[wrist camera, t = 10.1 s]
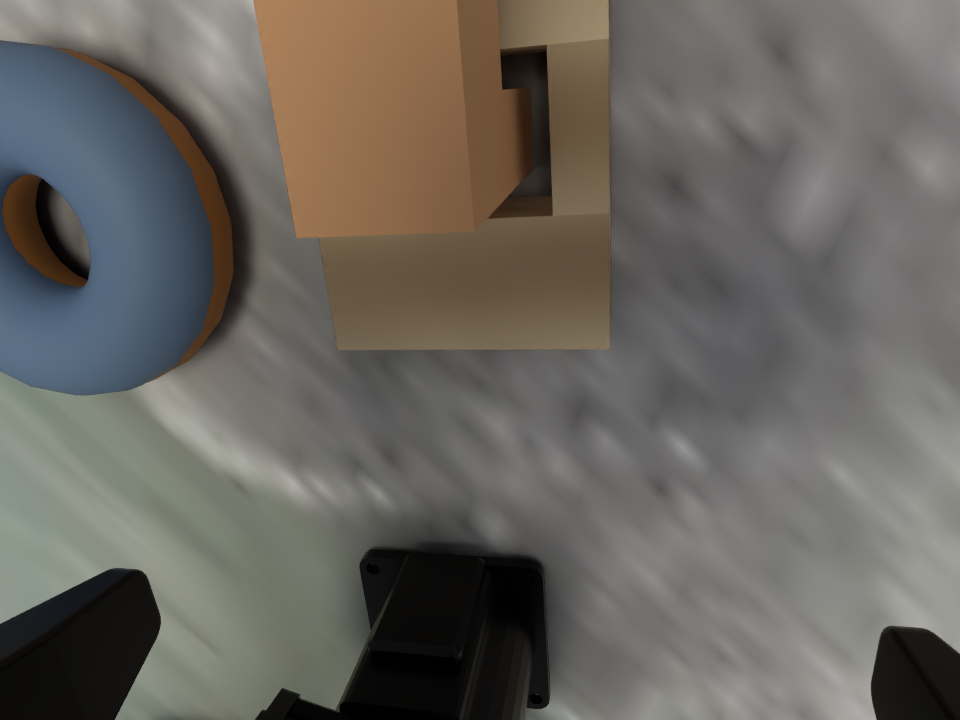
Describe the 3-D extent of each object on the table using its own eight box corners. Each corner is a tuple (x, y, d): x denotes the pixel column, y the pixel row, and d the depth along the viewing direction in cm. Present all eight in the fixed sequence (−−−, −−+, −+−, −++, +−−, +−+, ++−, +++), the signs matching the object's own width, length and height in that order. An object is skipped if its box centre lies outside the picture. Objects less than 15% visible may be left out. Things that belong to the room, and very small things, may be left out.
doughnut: (-57, -17, 18) (-237, -17, 14) (281, 104, 18) (192, 137, 14) (-20, 290, 23) (-147, 351, 20) (244, 384, 24) (171, 464, 20)
